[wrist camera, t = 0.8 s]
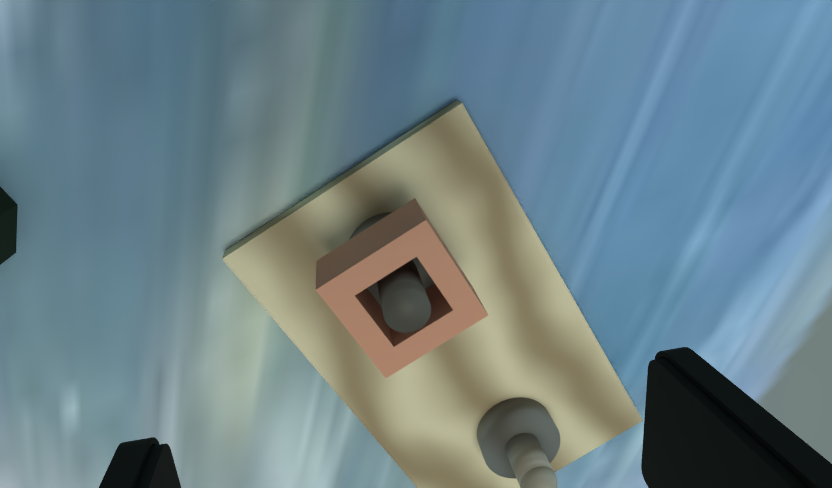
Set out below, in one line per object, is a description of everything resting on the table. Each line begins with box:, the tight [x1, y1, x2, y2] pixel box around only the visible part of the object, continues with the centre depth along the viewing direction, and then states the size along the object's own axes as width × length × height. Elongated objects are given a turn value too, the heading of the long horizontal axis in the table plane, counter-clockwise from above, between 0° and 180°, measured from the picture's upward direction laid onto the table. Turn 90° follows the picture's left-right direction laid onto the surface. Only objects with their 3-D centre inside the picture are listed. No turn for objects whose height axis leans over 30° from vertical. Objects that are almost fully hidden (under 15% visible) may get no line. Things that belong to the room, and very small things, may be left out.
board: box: [222, 100, 643, 488], centre depth 39 cm, size 18×30×10 cm, turn 32°
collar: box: [316, 198, 488, 378], centre depth 34 cm, size 7×7×4 cm
